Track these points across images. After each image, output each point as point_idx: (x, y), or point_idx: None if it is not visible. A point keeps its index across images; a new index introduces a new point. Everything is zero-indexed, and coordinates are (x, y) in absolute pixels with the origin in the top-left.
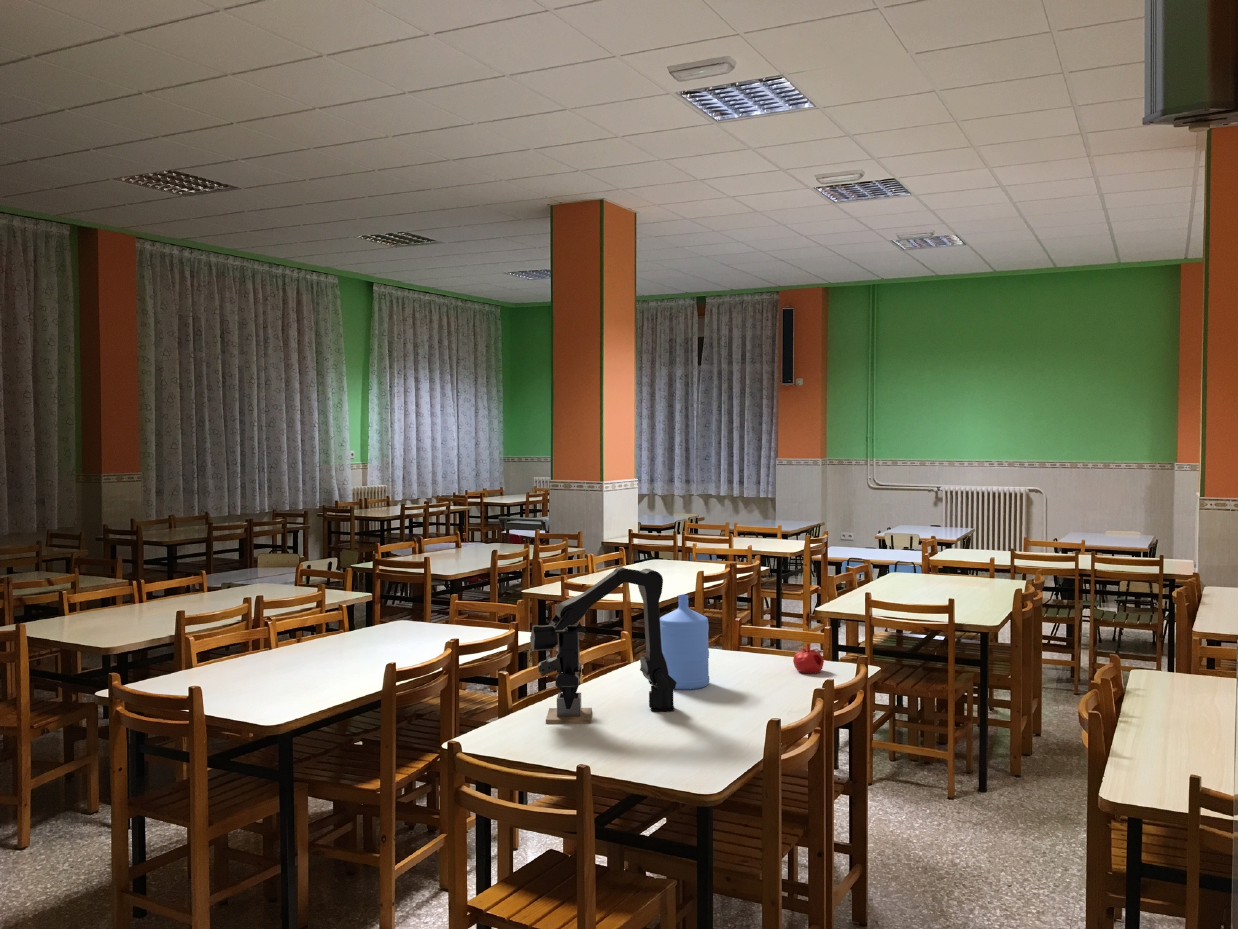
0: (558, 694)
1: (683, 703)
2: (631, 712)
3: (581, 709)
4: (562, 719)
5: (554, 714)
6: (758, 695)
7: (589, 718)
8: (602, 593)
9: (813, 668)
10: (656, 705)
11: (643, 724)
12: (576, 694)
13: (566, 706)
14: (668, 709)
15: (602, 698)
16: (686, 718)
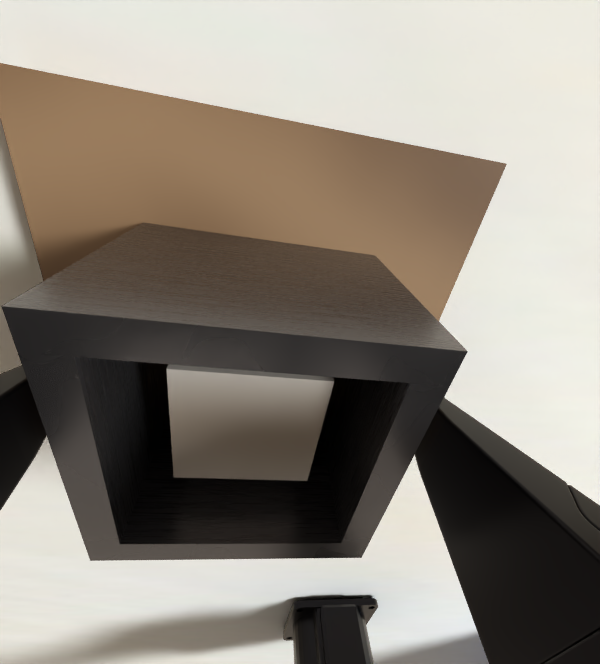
0: (348, 350)
1: (374, 638)
2: (303, 559)
3: None
4: (43, 271)
5: (240, 202)
6: None
7: None
8: None
9: None
10: (305, 632)
11: (108, 586)
12: (342, 516)
13: (7, 380)
14: (285, 633)
15: (593, 484)
16: (197, 647)
